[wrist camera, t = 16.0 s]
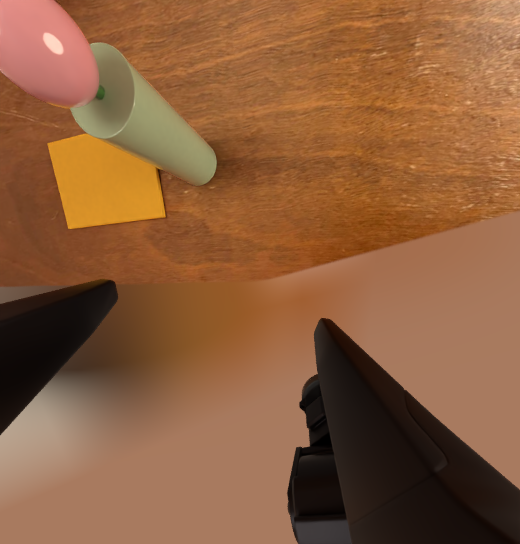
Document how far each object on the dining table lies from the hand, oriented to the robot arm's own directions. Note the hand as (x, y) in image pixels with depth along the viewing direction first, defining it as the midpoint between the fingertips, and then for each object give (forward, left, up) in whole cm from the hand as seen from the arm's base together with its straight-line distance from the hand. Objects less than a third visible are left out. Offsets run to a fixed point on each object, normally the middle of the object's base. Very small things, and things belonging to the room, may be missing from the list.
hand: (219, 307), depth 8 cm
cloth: (+21, +4, -12) cm, 25 cm away
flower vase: (+12, -4, -12) cm, 18 cm away
